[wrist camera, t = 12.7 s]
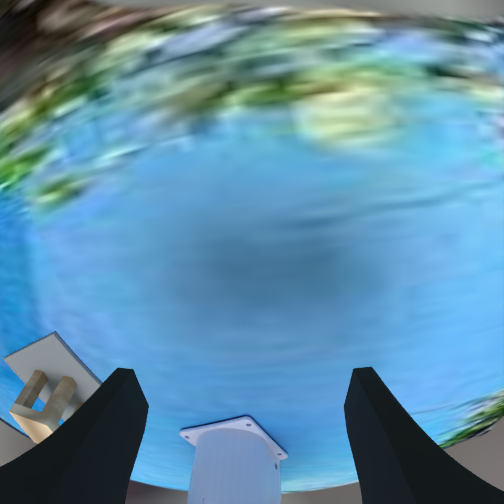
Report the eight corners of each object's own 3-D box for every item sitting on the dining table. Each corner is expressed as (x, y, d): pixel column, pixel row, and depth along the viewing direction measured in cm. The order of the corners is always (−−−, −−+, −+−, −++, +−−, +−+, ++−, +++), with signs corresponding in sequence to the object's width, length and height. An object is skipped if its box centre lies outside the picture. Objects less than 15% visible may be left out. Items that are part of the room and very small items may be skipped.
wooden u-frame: (72, 377, 25) (47, 425, 19) (91, 410, 27) (72, 455, 21) (35, 369, 25) (8, 411, 19) (55, 401, 27) (34, 442, 21)
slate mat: (138, 416, 27) (137, 419, 27) (73, 425, 30) (72, 427, 29) (55, 331, 23) (53, 334, 22) (4, 356, 25) (3, 359, 25)
